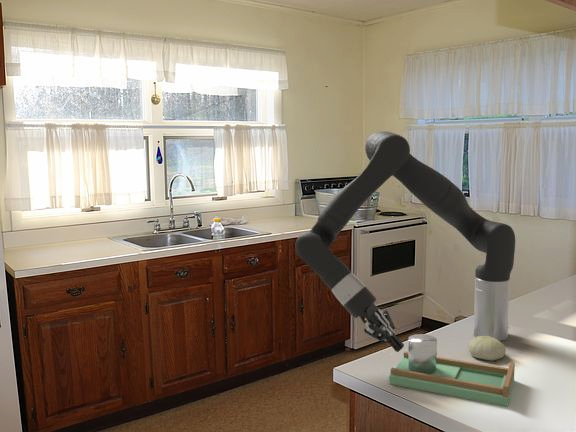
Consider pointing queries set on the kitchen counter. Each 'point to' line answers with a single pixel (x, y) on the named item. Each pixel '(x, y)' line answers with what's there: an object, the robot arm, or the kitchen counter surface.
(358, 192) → the robot arm
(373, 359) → the kitchen counter surface
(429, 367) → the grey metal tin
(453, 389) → the green railed board
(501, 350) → the sea urchin shell
